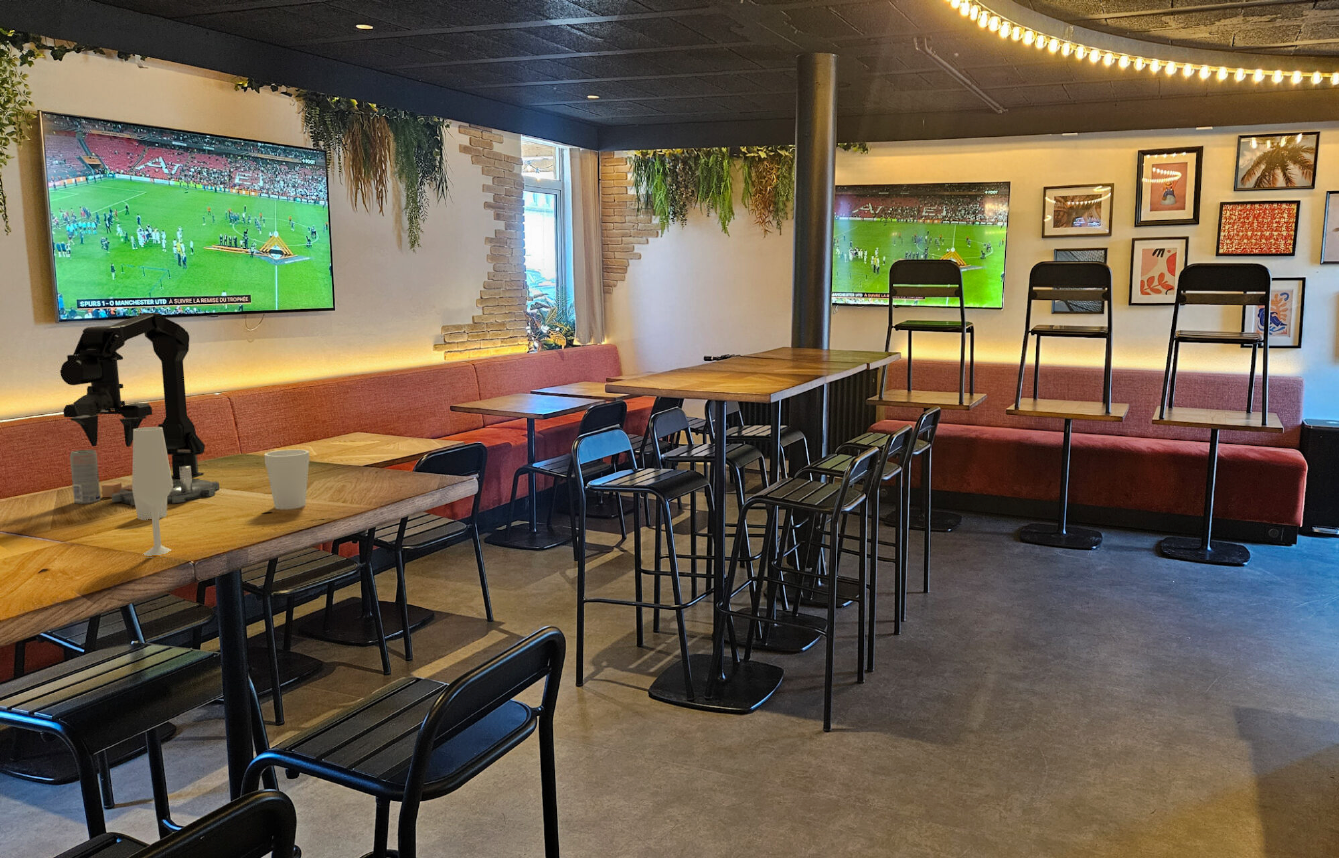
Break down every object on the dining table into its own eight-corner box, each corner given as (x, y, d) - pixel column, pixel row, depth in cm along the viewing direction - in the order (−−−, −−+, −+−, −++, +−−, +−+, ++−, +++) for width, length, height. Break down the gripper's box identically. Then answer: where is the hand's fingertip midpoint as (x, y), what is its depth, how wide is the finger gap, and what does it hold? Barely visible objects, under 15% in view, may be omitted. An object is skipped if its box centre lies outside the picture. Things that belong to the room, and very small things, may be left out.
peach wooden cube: (110, 494, 236) (109, 482, 235) (122, 495, 236) (121, 483, 235) (102, 497, 233) (101, 485, 232) (114, 497, 233) (113, 485, 232)
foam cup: (260, 509, 219) (257, 453, 217) (300, 503, 225) (296, 448, 224) (280, 516, 212) (276, 458, 210) (320, 509, 219) (316, 452, 217)
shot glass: (176, 515, 214) (174, 484, 213) (157, 522, 208) (154, 490, 207) (147, 514, 215) (145, 483, 214) (127, 521, 208) (124, 489, 207)
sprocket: (220, 482, 248) (217, 452, 247) (218, 500, 227) (216, 466, 226) (117, 490, 239) (115, 458, 237) (106, 509, 218) (103, 474, 217)
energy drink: (97, 498, 232) (92, 448, 231) (103, 501, 228) (99, 451, 227) (71, 501, 229) (66, 451, 227) (77, 505, 225) (72, 454, 223)
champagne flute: (151, 550, 185) (140, 426, 181) (185, 551, 184) (175, 426, 181) (130, 560, 178) (119, 431, 175) (166, 560, 178) (155, 431, 174)
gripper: (42, 384, 220) (49, 451, 222) (119, 384, 218) (125, 452, 220) (77, 379, 231) (83, 443, 233) (150, 379, 229) (156, 444, 231)
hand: (111, 446), depth 229 cm, fingers open, 8 cm apart
